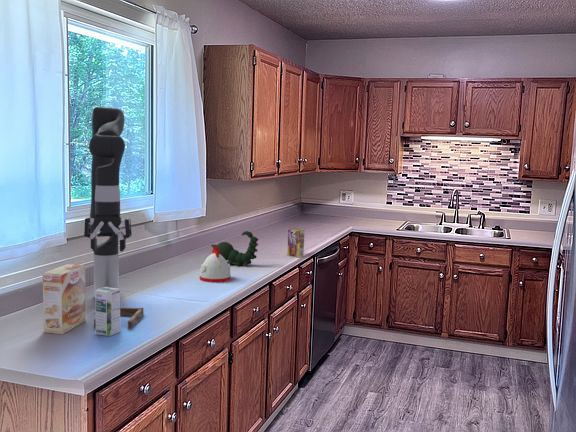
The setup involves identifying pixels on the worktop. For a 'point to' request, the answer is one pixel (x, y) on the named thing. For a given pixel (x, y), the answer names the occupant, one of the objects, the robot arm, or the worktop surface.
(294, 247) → the candy box
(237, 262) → the toy figurine
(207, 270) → the kitchen timer
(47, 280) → the coffeecake box
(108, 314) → the syrup box
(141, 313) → the walnut U-rest
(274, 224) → the worktop surface
